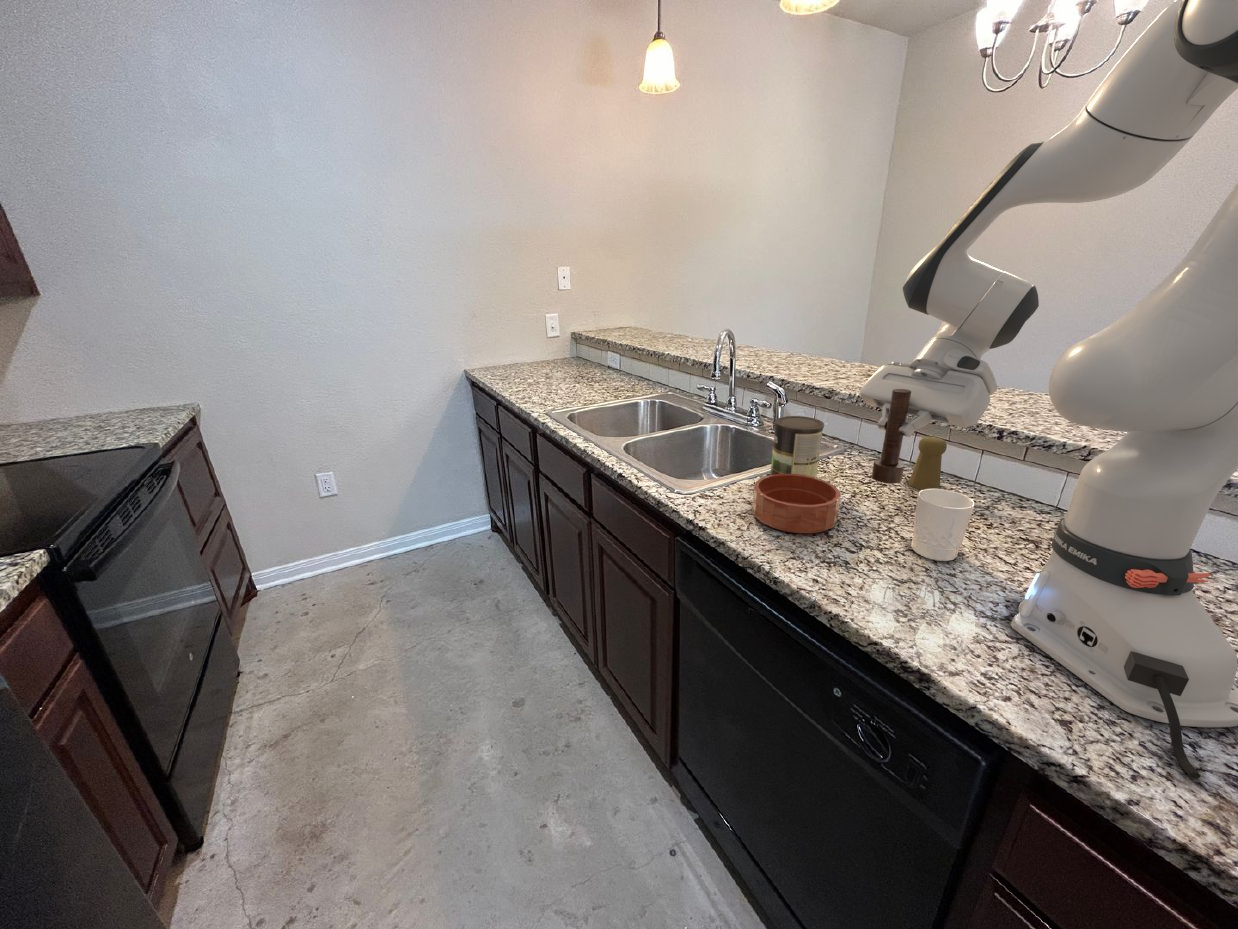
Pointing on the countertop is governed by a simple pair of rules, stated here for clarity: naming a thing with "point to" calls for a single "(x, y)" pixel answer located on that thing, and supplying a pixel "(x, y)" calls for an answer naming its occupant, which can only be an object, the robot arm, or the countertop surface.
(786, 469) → the coffee can
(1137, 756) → the countertop surface
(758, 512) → the bowl
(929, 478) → the pepper grinder
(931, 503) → the white cup
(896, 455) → the muddler
